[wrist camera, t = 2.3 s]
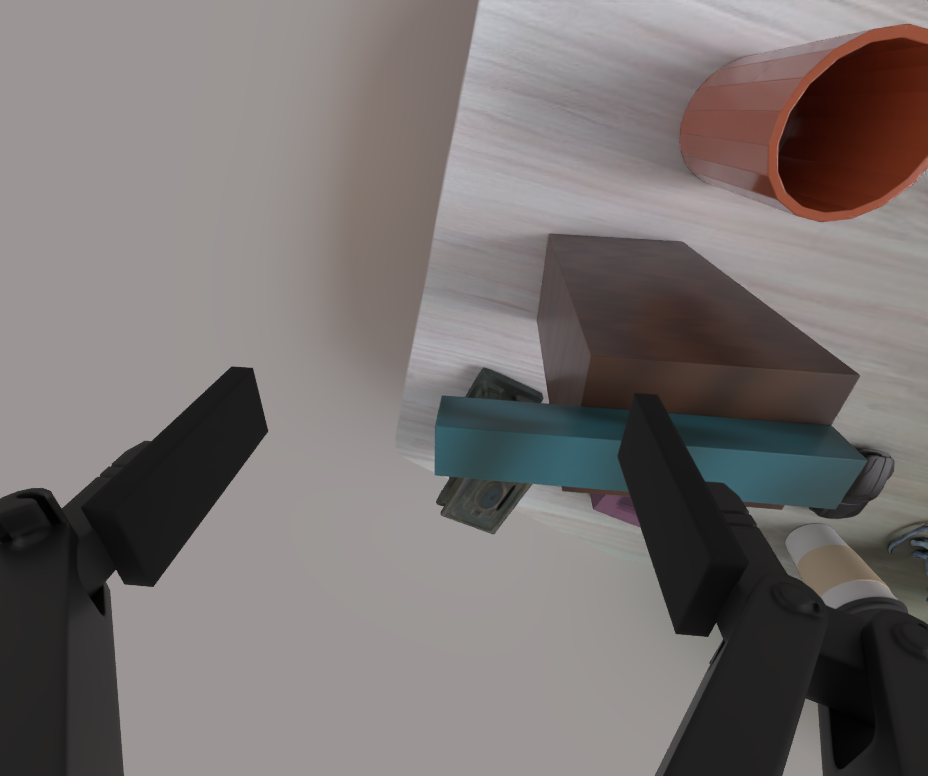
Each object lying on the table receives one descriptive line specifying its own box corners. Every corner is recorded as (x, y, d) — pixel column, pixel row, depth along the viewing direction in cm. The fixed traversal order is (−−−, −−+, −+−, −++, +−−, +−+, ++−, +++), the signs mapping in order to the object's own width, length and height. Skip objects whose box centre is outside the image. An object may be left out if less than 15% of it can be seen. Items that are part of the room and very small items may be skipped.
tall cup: (712, 41, 39) (835, 2, 24) (825, 72, 39) (1011, 52, 25) (659, 170, 44) (735, 200, 30) (759, 196, 45) (881, 237, 30)
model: (498, 463, 65) (496, 549, 52) (439, 440, 64) (423, 523, 51) (544, 390, 58) (555, 469, 46) (480, 363, 57) (473, 437, 44)
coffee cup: (840, 511, 65) (921, 609, 52) (847, 550, 69) (925, 650, 56) (771, 528, 68) (833, 625, 55) (782, 564, 72) (842, 663, 59)
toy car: (800, 506, 65) (816, 527, 62) (846, 441, 59) (866, 460, 55) (840, 511, 65) (858, 532, 62) (891, 446, 59) (914, 466, 55)
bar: (441, 442, 28) (434, 475, 26) (441, 395, 26) (435, 425, 24) (804, 472, 27) (835, 509, 25) (832, 425, 25) (868, 460, 23)
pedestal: (536, 320, 53) (562, 491, 30) (548, 233, 48) (591, 355, 24) (657, 329, 53) (782, 510, 29) (682, 241, 47) (861, 375, 24)
